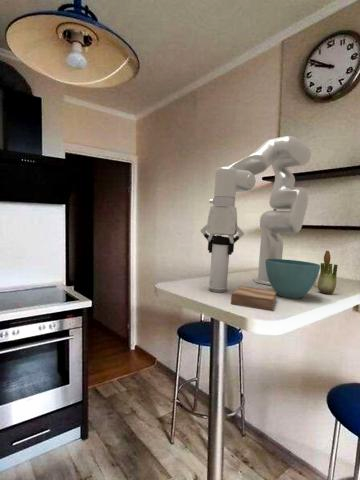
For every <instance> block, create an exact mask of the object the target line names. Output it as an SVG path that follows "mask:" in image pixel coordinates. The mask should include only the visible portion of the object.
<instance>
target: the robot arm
mask: <svg viewBox="0 0 360 480" xmlns="http://www.w3.org/2000/svg"><path fill="white" fill-rule="evenodd" d="M310 149H311V148H310V147H309V145H307V144H306V143H304V142H303V141H301V140H300V139H298V138H297V137H294V136H291V135H286V136H285V135H284V136H281V137H275V138H270V139H267V140H265V141H264V142H263V143H262V144H261V145H260V146H259V147H257V148H256V150H254V151H253V152H252V153H251V154H249V155H247V156H245V157H243V158H242V159H239V160H238V161H235V162H234V163H232V164H231V165H229V166H219V167H218V168H217V169H216V170H215V174H214V175H215V176H214V177H215V178H214V189H213V193H214V194H213V197H212V198H211V199H209V204H212V205H211V206H210V208H209V210H208V211H209V212H208V218H207V223H206V224H205V225H204V226H203V228H201V229H200V233H201V234H202V235H203V236H204V238H205V239H206V240H207V250H208V253H209V254H212V246H213V245H212V243H213V236H216V235H222V236H227V237H229V239H230V243H229V247H228V254H229V256H232V254H234V250H235V249H234V248H235V243H237V241H239V240H240V239H241V238H242V237H243V236H244V235H245V233H244V231H243V230H242V229H241V228H240V227H239V225H238V211H237V207H235V206H236V192H237V193H238V192H248V191H251V190H252V189H253V188H254V187H255V186H256V177H255V176H256V175H258V174H259V175H260V174H262V173H264V172H266V171H267V170H268V169H269V168H270V167H272V170H273V175H274V183H273V187H272V189H271V193H270V197H269V206H270V207H271V209H273V210H267V211H265V212H263V213H262V214H261V215H260V217H259V228H260V244H259V245H260V246H259V257H258V258H259V259H258V268H257V269H258V271H257V277H254V278H253V281H254V282H255V283H258V284H262V285H267V286H272V285H271V283H270V281H269V279H268V275H267V271H266V259H283V251H284V241H283V239H282V236H281V235H280V234H288V235H289V234H290V235H291V234H293V235H295V234H298V233H299V232H300V231H301V229H302V227H303V224H304V220H305V215H306V212H307V209H308V206H309V205H308V204H309V194H308V192H307V190H306V189H305V188H304V187H301V186H297V187H296V186H295V183H296V179H295V178H296V177H295V175H294V174H293V173H292V172H291V170H290V169H289V168H292V167H301V166H305V165H307V164H308V163H309V162H310V159H311V156H312V155H311V150H310ZM237 233H238V234H237ZM236 234H237V235H236ZM235 235H236V236H235Z"/></svg>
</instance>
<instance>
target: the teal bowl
mask: <svg viewBox="0 0 360 480" xmlns="http://www.w3.org/2000/svg"><path fill="white" fill-rule="evenodd" d="M266 271H267V275H268V279H269V281H270V283H271V285H270V286H271V287H272V288H273V291H276V295H278V296H281V297H285V298H290V299H301V298H303V297H305V296H306V295H307V293H308V292H309V291H310V290H311V289H312V288H313V287H314V286H315V284H316V281H317V279H318V278H319V277H318V276H319V275H320V271H321V264H319V263H315V262H311V261H310V262H309V261H303V260H296V259H284V258H282V259H266Z"/></svg>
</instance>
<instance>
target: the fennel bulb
mask: <svg viewBox="0 0 360 480" xmlns="http://www.w3.org/2000/svg"><path fill="white" fill-rule="evenodd" d="M338 266H339V264H333V263H331V262H330V263H329V267H328V263H325V264H324V262H321V263H320V270H319V275H318V276H319V277H318V281H317V282H318V287H317V290H318V292H320V293H322V294H328V295H332V294H334V293H335V290H336V289H335V287H336V286H337V277H338V276H337V274H338Z"/></svg>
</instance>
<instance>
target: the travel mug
mask: <svg viewBox="0 0 360 480" xmlns="http://www.w3.org/2000/svg"><path fill="white" fill-rule="evenodd" d="M229 243H230V239H229V236H225V235H217V234H215V236H213V243H212V245H213V246H212V253H211V254H210V255H211V256H210V257H211V258H210V268H209V270H210V271H209V285H208V291H210V292H212V293H217V294H218V293H226V292H227V290H228V288H227V286H228V276H229V275H228V273H229V265H230V264H229V263H230V261H229V260H230V255H229V254H228V247H229Z"/></svg>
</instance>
